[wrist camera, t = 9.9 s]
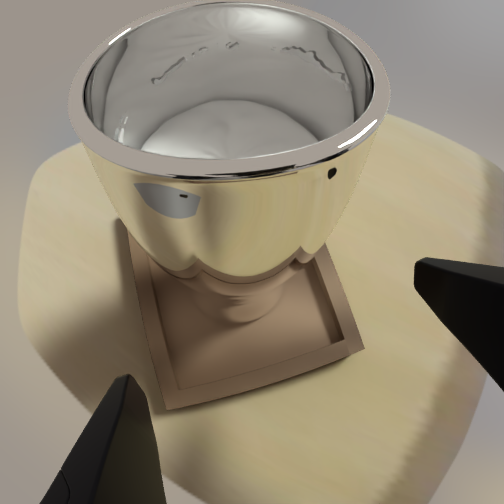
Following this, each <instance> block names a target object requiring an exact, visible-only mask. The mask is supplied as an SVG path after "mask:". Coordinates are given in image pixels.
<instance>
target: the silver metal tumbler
mask: <svg viewBox="0 0 504 504" xmlns="http://www.w3.org/2000/svg"><path fill="white" fill-rule="evenodd" d="M389 102H390V84H389V79H388V76H387V74H386V71H385V69H384V66H383V65H382V63H381V61H380V60H379V58H378V57H377V55H376V54H375V53H374V51H373V50H372V49H371V48H370V47H369V46H368V45H367V44H366V43H365V42H364V41H363V40H362V39H360V38H359V37H358V36H357V35H356V34H354V33H353V32H352V31H350V30H349V29H347V28H346V27H344V26H342V25H341V24H339V23H337V22H336V21H334V20H332V19H330V18H328V17H326V16H324V15H321V14H319V13H317V12H314V11H311V10H309V9H306V8H303V7H299V6H296V5H292V4H287V3H283V2H278V1H272V0H198V1H193V2H188V3H183V4H179V5H175V6H171V7H168V8H165V9H162V10H159V11H156V12H154V13H151V14H149V15H146V16H144V17H142V18H140V19H138V20H136V21H134V22H132V23H130V24H128V25H126V26H125V27H123V28H121V29H120V30H118V31H117V32H115V33H114V34H112V35H111V36H110V37H108V38H107V39H106V40H105V41H103V42H102V43H101V44H100V45H99V46H98V47H97V48H96V49H95V50H94V51H93V52H92V53H91V54H90V55H89V56H88V57H87V58H86V60H85V61H84V62H83V64H82V65H81V67H80V68H79V70H78V71H77V73H76V75H75V77H74V79H73V82H72V85H71V87H70V91H69V96H68V114H69V118H70V122H71V125H72V127H73V129H74V131H75V133H76V134H77V136H78V137H79V139H80V140H81V141H82V143H83V146H84V148H85V150H86V152H87V154H88V156H89V159H90V161H91V163H92V165H93V168H94V170H95V172H96V174H97V176H98V178H99V181H100V183H101V185H102V186H103V188H104V190H105V192H106V194H107V196H108V198H109V200H110V202H111V204H112V205H113V207H114V209H115V211H116V213H117V214H118V216H119V217H120V219H121V220H122V222H123V223H124V225H125V226H126V228H127V229H128V231H129V232H130V234H131V236H132V237H133V238H134V240H135V241H136V242H137V243H138V245H139V246H140V247H141V248H142V249H143V250H144V251H145V253H146V254H147V255H148V256H149V257H150V258H151V259H152V260H153V261H154V263H155V264H156V265H158V266H159V267H160V268H161V269H162V270H163V271H165V272H166V273H167V274H169V275H170V276H172V277H173V278H174V279H176V280H177V281H179V282H180V283H182V284H183V285H185V286H187V287H188V289H189V292H190V294H191V296H192V298H193V300H194V302H195V303H196V304H197V306H198V307H199V308H200V309H201V310H202V311H203V312H204V313H206V314H207V315H209V316H210V317H212V318H214V319H216V320H219V321H222V322H226V323H233V324H239V323H247V322H251V321H254V320H256V319H258V318H260V317H262V316H264V315H265V314H267V313H268V312H269V311H270V310H271V309H272V308H273V307H274V306H275V305H276V304H277V302H278V301H279V299H280V297H281V295H282V293H283V290H284V287H285V282H286V281H287V280H289V279H290V278H291V277H293V276H294V275H295V274H296V273H297V272H298V271H300V270H301V269H302V268H303V267H304V266H305V265H306V264H307V263H309V262H310V260H311V259H312V258H313V257H314V256H315V255H316V254H317V252H318V251H319V250H320V248H321V247H322V245H323V244H324V243H325V241H326V240H327V239H328V237H329V236H330V234H331V233H332V231H333V230H334V228H335V227H336V225H337V223H338V221H339V219H340V217H341V216H342V214H343V212H344V210H345V208H346V206H347V204H348V202H349V200H350V198H351V196H352V194H353V192H354V189H355V187H356V185H357V182H358V180H359V177H360V175H361V173H362V170H363V168H364V165H365V163H366V160H367V157H368V154H369V152H370V149H371V146H372V143H373V141H374V138H375V136H376V133H377V131H378V128H379V126H380V124H381V123H382V121H383V119H384V118H385V116H386V113H387V111H388V108H389Z"/></svg>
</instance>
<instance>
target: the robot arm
mask: <svg viewBox="0 0 504 504" xmlns="http://www.w3.org/2000/svg"><path fill="white" fill-rule="evenodd" d="M414 287H415V289H416V291H417V292H418V293H419V295H420V296H421V297H422V298H423V299H424V301H425V302H426V303H427V304H428V306H429V307H430V308H431V309H432V311H433V312H434V313H435V314H436V316H437V317H438V318H439V319H440V321H441V322H442V323H443V324H444V325H445V326H446V327H447V328H448V329H449V330H450V331H451V333H452V334H453V335H454V336H455V337H456V338H457V339H458V340H459V341H460V342H461V343H462V344H463V345H464V347H465V348H466V349H467V350H468V351H469V352H470V353H471V354H472V355H473V356H474V358H475V359H476V360H477V361H478V362H479V363H480V364H481V366H482V367H483V368H484V369H485V370H486V371H487V372H488V374H489V375H490V376H491V377H492V378H493V379H494V381H495V382H496V383H497V384H498V385H499V387H500V388H501V389H502V390H503V391H504V267H497V266H490V265H483V264H475V263H467V262H460V261H452V260H444V259H436V258H428V257H425V258H422V259H420V260H419V261H417V262H416V263H415V267H414ZM40 504H167V503H166V498H165V493H164V487H163V481H162V475H161V468H160V461H159V454H158V448H157V442H156V438H155V434H154V430H153V425H152V421H151V417H150V412H149V407H148V403H147V398H146V396H145V394H144V392H143V391H142V389H141V388H140V386H139V385H138V384H137V382H136V381H135V379H134V378H133V377H132V376H131V375H130V374H126V375H123V376H119V377H117V378H116V379H115V380H114V382H113V383H112V385H111V387H110V388H109V390H108V391H107V393H106V394H105V396H104V398H103V399H102V401H101V402H100V404H99V406H98V407H97V409H96V410H95V412H94V414H93V415H92V417H91V419H90V420H89V422H88V424H87V425H86V427H85V428H84V430H83V432H82V433H81V435H80V437H79V438H78V440H77V442H76V443H75V445H74V447H73V448H72V450H71V452H70V453H69V455H68V457H67V459H66V460H65V462H64V464H63V466H62V467H61V470H60V471H59V472H58V474H57V476H56V478H55V479H54V481H53V483H52V484H51V486H50V488H49V490H48V491H47V493H46V494H45V496H44V498H43V499H42V501H41V502H40Z"/></svg>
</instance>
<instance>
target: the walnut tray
mask: <svg viewBox="0 0 504 504" xmlns="http://www.w3.org/2000/svg"><path fill="white" fill-rule="evenodd" d="M127 231H128V229H127ZM128 239H129V246H130V253H131V259H132V265H133V271H134V277H135V283H136V288H137V293H138V299H139V304H140V309H141V313H142V318H143V323H144V327H145V332H146V336H147V340H148V344H149V348H150V352H151V356H152V360H153V364H154V368H155V372H156V375H157V379H158V382H159V386H160V389H161V393H162V396H163V400H164V403H165V406H166V409H167V410H171V409H176V408H181V407H185V406H190V405H194V404H199V403H203V402H207V401H211V400H215V399H219V398H223V397H227V396H230V395H234V394H238V393H241V392H245V391H248V390H252V389H255V388H258V387H262V386H265V385H268V384H271V383H275V382H278V381H281V380H284V379H287V378H290V377H293V376H296V375H299V374H301V373H304V372H307V371H310V370H313V369H315V368H318V367H321V366H323V365H326V364H329V363H331V362H334V361H336V360H339V359H341V358H344V357H346V356H349V355H351V354H354V353H356V352H358V351H361V350H363V349H365V348H364V345H363V342H362V340H361V337H360V334H359V331H358V328H357V325H356V322H355V320H354V317H353V314H352V311H351V309H350V306H349V303H348V300H347V298H346V295H345V292H344V290H343V287H342V284H341V282H340V279H339V277H338V274H337V272H336V269H335V266H334V264H333V261H332V259H331V256H330V254H329V251H328V249H327V247H326V244H325V243H324V244H323V245H322V247H321V248H320V250H319V251H318V252H317V254H316V255H315V256H314V257H313V258H312V259H311V260H310V262H309V263H307V264H306V265H305V266H304V267H303V268H302V269H301V270H300V271H298V272H297V273H296V274H295V275H294V276H293V277H291V278H290V279H289V280H287V281H286V282H285V287H284V290H283V293H282V295H281V297H280V299H279V301H278V302H277V304H276V305H275V306H274V307H273V308H272V309H271V310H270V311H269V312H268V313H267V314H265V315H264V316H262V317H260V318H258V319H256V320H254V321H251V322H247V323H239V324H233V323H226V322H222V321H219V320H216V319H214V318H212V317H210V316H209V315H207V314H206V313H204V312H203V311H202V310H201V309H200V308H199V307H198V306H197V304H196V303H195V302H194V300H193V298H192V296H191V294H190V292H189V289H188V287H187V286H185V285H183V284H182V283H180V282H179V281H177V280H176V279H174V278H173V277H172V276H170V275H169V274H167V273H166V272H165V271H163V270H162V269H161V268H160V267H159V266H158V265H156V264H155V263H154V261H153V260H152V259H151V258H150V257H149V256H148V255H147V254H146V253H145V251H144V250H143V249H142V248H141V247H140V246H139V245H138V243H137V242H136V241H135V240H134V238H133V237H132V236H131V234H130V232H129V231H128Z"/></svg>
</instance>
